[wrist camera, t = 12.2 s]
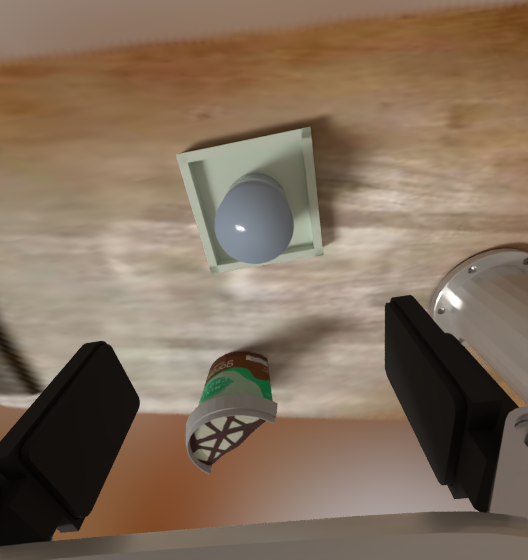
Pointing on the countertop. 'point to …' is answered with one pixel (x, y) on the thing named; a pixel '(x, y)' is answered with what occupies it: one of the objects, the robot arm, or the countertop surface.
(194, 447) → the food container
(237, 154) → the tray
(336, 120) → the countertop surface
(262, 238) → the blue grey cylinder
